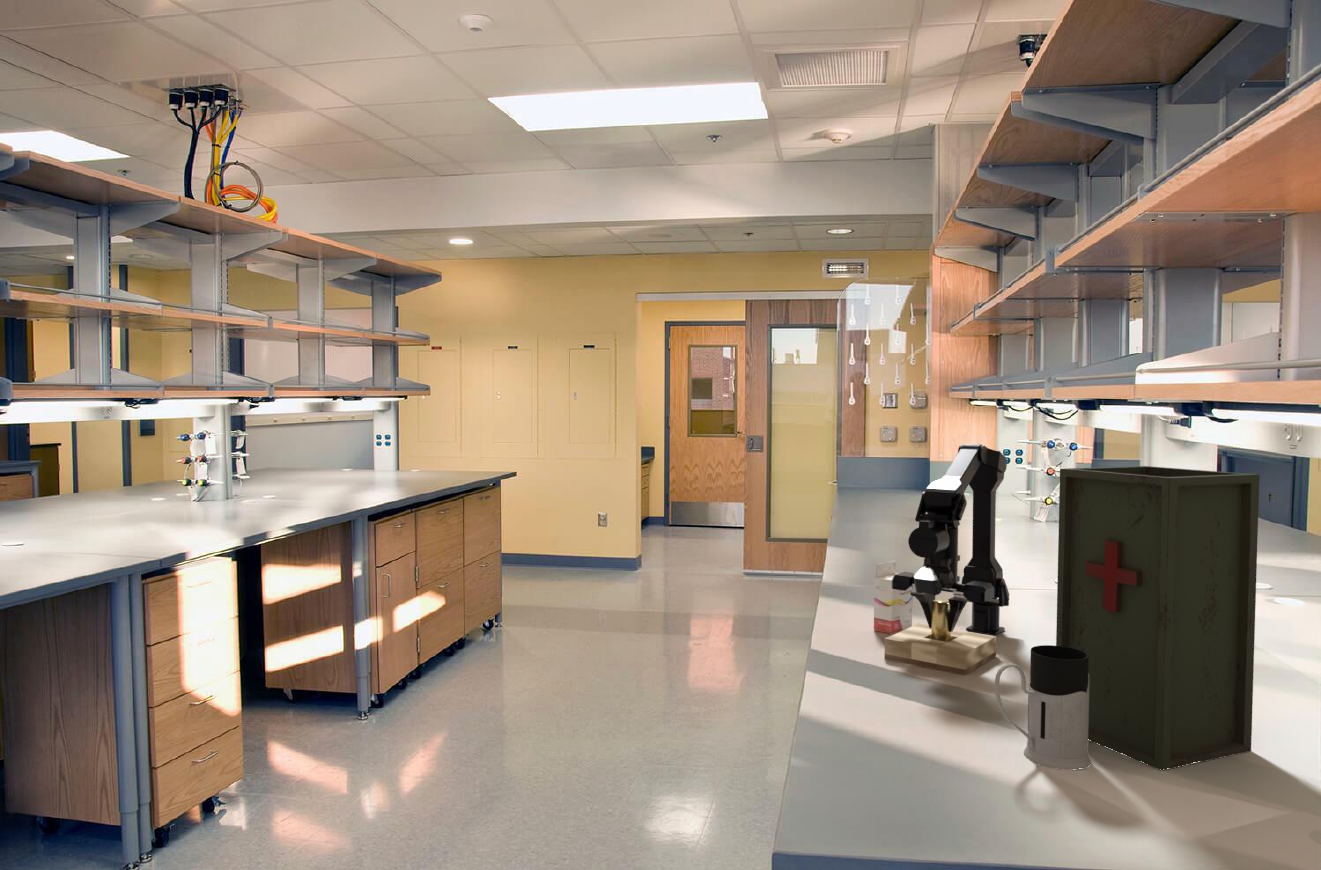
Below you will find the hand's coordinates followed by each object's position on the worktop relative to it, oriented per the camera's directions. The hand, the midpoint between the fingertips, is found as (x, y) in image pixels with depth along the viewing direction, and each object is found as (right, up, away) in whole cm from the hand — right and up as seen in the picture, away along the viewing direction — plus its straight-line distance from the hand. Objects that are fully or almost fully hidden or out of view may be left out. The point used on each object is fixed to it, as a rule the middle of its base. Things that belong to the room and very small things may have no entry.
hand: (941, 629), depth 178 cm
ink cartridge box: (-4, -5, +23) cm, 23 cm away
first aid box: (+18, -7, -42) cm, 46 cm away
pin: (0, -3, 0) cm, 3 cm away
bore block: (0, -6, 0) cm, 6 cm away
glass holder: (-2, -8, -50) cm, 51 cm away
